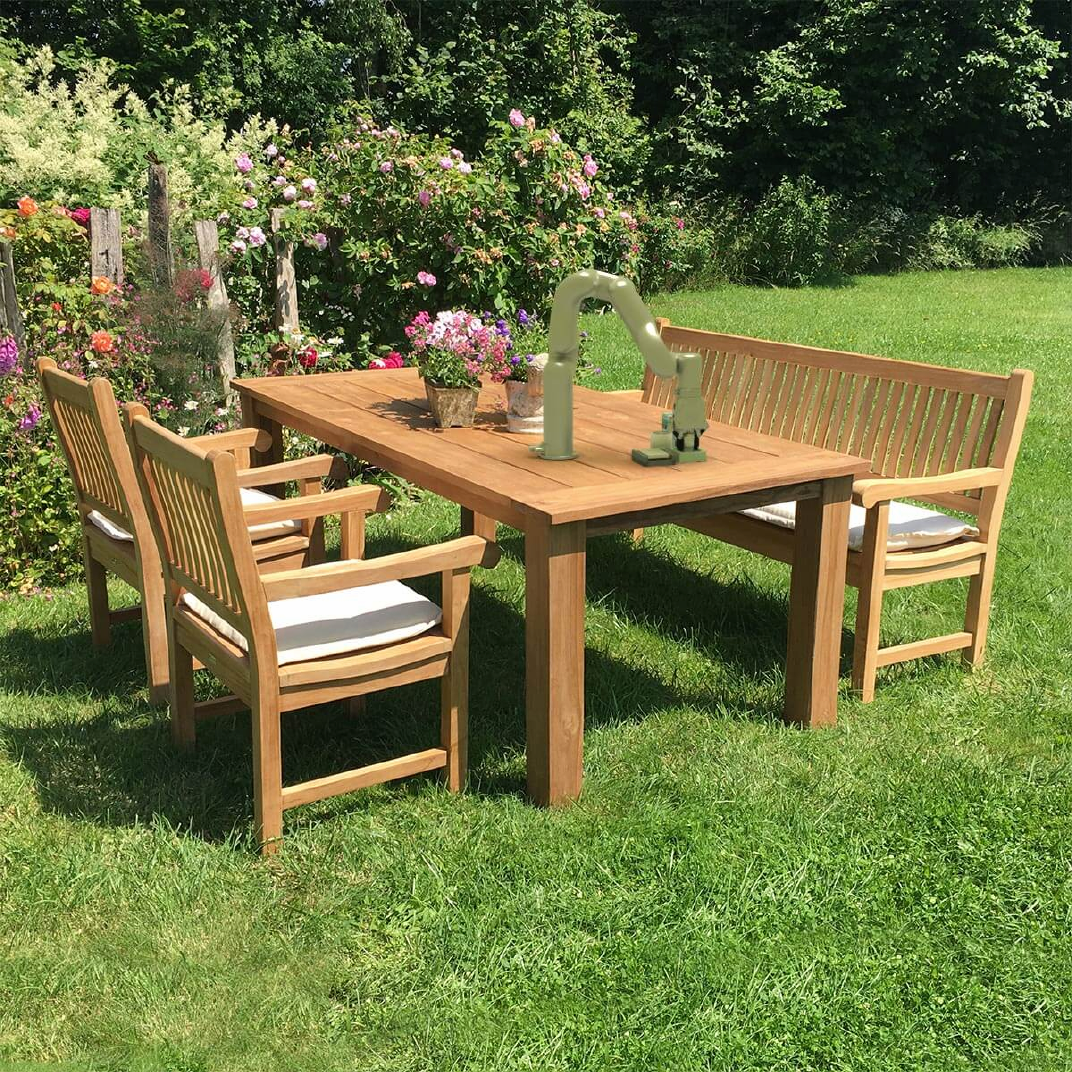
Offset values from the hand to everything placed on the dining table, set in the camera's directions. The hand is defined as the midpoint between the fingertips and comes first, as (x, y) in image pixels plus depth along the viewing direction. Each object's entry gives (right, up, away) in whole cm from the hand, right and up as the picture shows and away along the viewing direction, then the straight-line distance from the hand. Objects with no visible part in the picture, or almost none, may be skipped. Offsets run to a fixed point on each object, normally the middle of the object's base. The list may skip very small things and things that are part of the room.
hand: (687, 449), depth 380 cm
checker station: (-11, -4, -3) cm, 12 cm away
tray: (0, -3, +1) cm, 3 cm away
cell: (0, -1, 0) cm, 1 cm away
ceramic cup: (-8, -1, +9) cm, 12 cm away
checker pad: (-11, -2, -4) cm, 12 cm away
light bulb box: (0, +3, +23) cm, 23 cm away
